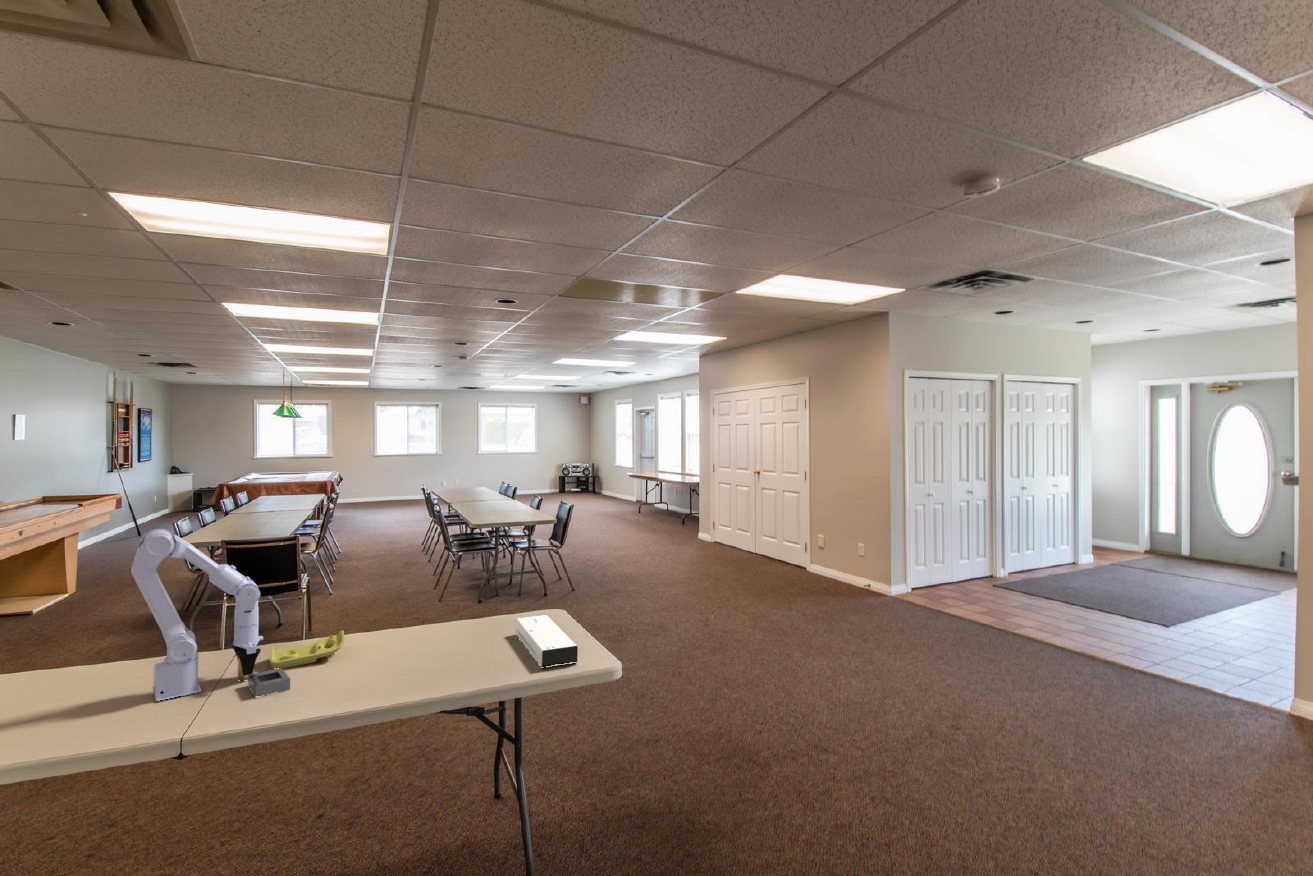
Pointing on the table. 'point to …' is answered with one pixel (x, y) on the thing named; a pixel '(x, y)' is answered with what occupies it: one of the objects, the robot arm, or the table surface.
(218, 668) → the table surface
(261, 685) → the frame
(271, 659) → the plastic component
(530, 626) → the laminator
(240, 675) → the gold metal cylinder
